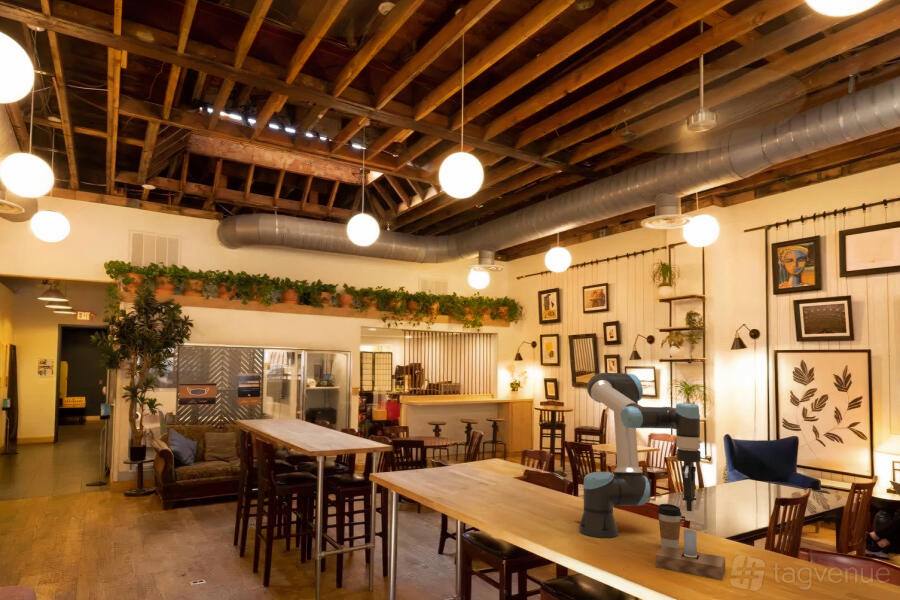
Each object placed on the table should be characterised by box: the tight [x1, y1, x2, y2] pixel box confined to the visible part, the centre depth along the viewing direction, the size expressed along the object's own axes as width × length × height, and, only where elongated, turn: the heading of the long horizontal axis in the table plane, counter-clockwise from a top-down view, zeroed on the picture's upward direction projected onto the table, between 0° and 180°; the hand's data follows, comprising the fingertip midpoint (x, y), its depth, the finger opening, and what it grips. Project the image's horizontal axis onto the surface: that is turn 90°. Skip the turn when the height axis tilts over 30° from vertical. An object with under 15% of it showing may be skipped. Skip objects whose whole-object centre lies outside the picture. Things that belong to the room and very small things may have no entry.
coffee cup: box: [657, 503, 682, 549], centre depth 212 cm, size 8×8×15 cm
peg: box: [683, 529, 698, 559], centre depth 189 cm, size 4×4×12 cm
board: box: [655, 545, 726, 581], centre depth 189 cm, size 20×12×4 cm, turn 59°
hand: (689, 520), depth 191 cm, fingers closed
